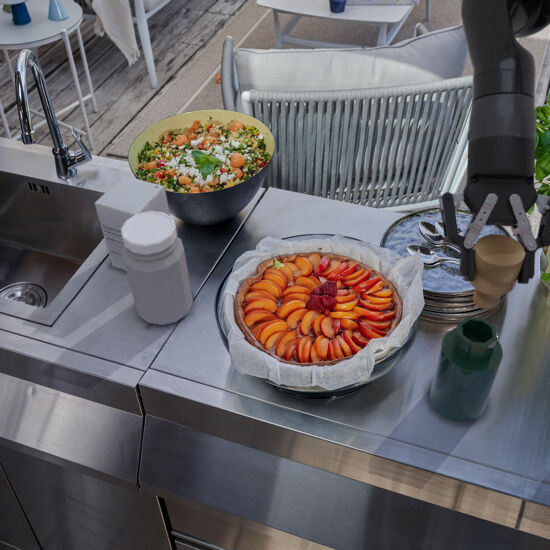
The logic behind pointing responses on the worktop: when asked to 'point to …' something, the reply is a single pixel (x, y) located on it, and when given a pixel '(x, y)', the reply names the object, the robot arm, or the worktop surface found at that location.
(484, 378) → the flask
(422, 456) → the worktop surface
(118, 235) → the rectangular carton
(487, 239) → the stopper
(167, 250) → the jar
